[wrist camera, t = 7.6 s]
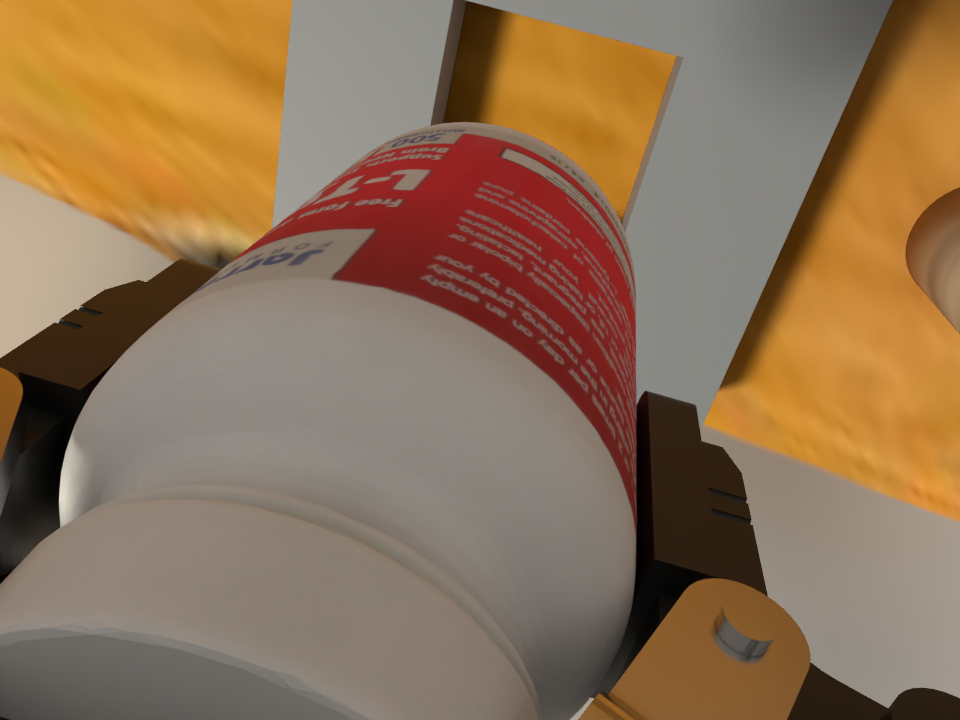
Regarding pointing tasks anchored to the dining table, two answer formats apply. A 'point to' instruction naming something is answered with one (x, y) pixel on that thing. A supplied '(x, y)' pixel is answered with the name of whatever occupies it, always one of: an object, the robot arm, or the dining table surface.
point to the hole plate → (669, 154)
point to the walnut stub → (938, 255)
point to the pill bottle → (358, 465)
